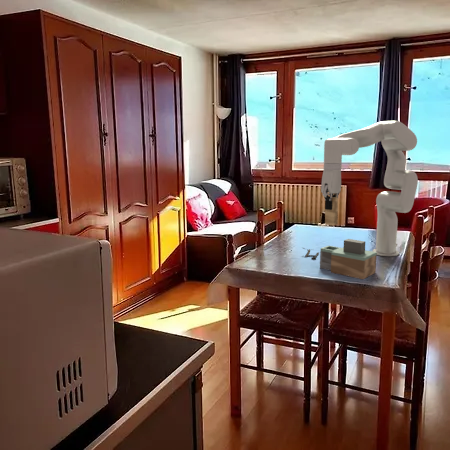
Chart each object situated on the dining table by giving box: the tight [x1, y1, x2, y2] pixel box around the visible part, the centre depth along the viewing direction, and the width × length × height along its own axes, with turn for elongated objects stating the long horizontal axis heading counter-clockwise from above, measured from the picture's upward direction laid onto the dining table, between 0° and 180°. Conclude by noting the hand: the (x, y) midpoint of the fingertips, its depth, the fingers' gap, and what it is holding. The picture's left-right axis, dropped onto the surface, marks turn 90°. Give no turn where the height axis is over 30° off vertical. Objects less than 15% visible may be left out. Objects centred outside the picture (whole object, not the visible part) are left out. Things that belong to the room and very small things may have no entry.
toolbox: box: [319, 249, 377, 280], centre depth 190 cm, size 12×22×8 cm, turn 47°
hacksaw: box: [301, 247, 320, 260], centre depth 221 cm, size 24×10×2 cm, turn 160°
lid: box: [320, 238, 378, 261], centre depth 189 cm, size 12×22×6 cm, turn 47°
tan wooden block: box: [324, 196, 339, 226], centre depth 191 cm, size 4×4×12 cm
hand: (331, 208), depth 191 cm, fingers closed on tan wooden block, 4 cm apart
